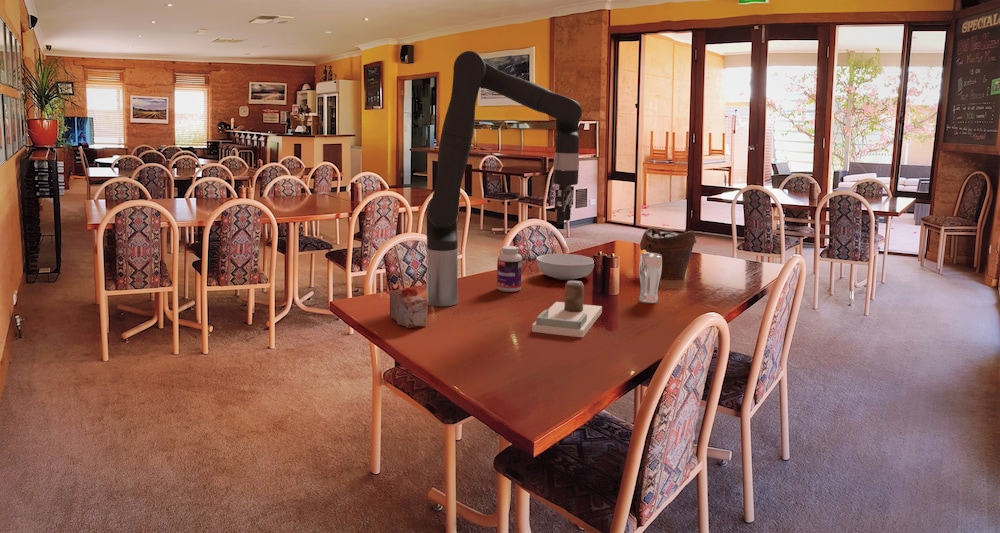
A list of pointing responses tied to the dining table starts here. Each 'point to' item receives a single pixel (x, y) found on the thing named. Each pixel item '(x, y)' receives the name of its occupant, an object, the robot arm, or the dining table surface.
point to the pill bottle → (509, 269)
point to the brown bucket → (670, 250)
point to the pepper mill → (574, 296)
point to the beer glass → (650, 276)
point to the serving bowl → (565, 266)
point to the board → (566, 320)
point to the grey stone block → (408, 308)
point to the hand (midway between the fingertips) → (563, 222)
